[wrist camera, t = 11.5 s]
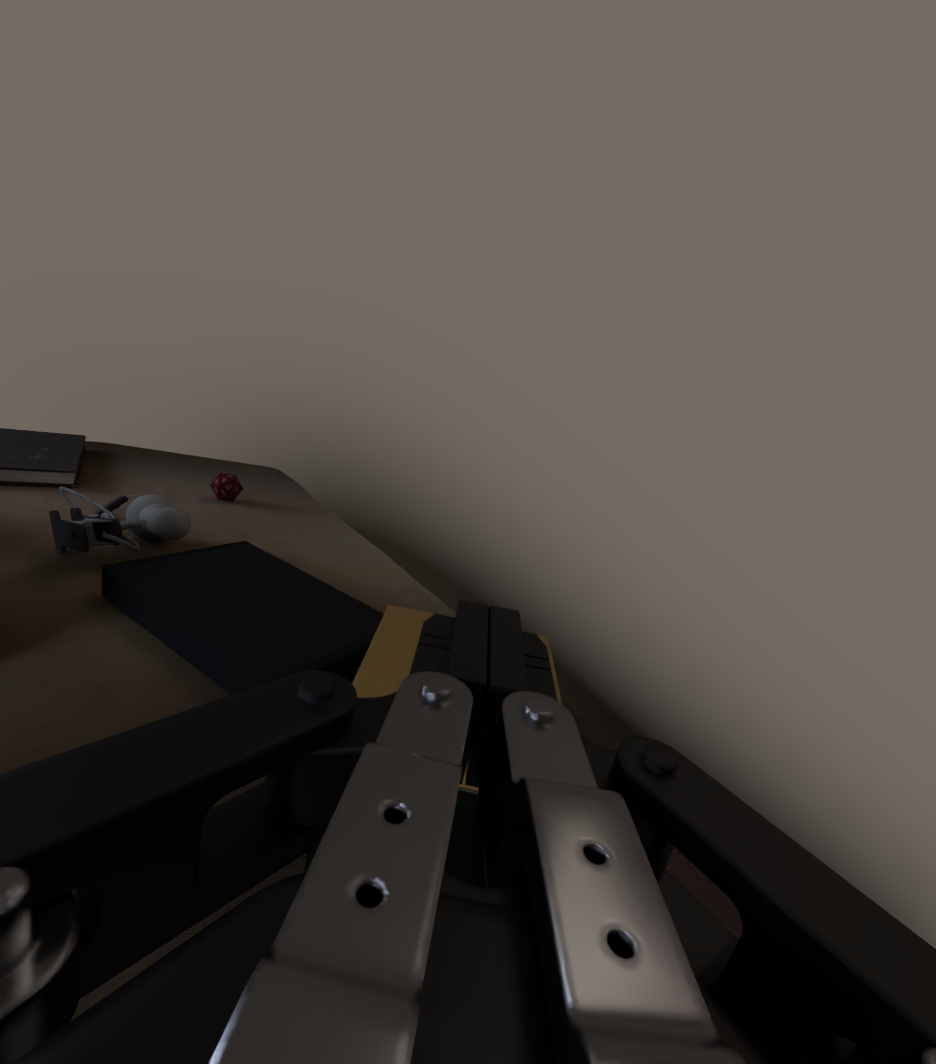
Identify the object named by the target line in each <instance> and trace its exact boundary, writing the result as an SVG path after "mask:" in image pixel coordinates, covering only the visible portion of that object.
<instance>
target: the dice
mask: <svg viewBox="0 0 936 1064" xmlns="http://www.w3.org/2000/svg"><path fill="white" fill-rule="evenodd" d="M210 486H211V488H212V489H213V491H214V493H215V495H216V497H217V498H218V499H222V500H231V501H234V499H235V498H236V497H237V496H238V495H239V493H240V492H241V491H242V490H243V488H242V486H241V484H240V482H239V480H238V479H237V477H236V475H229V474H222V473H220V474H219V475H218V477H217V478H216V479H215V480H214V481H213V483H212V484H211V485H210Z"/></svg>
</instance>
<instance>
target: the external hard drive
mask: <svg viewBox="0 0 936 1064" xmlns="http://www.w3.org/2000/svg"><path fill="white" fill-rule="evenodd" d="M102 595H103V596H104V597H105V598H106V599H108V600H109V601H110V602H112V603H113V604H114V605H116V606H117V607H118V608H119V609H121V610H122V611H123V612H125V613H126V614H127V615H129V616H130V617H131V618H132V619H134V620H135V621H136V622H138V623H139V624H140V625H142V626H143V627H144V628H146V629H147V630H148V631H149V632H151V633H152V634H153V635H155V636H156V637H157V638H159V639H160V640H161V641H162V642H164V643H165V644H166V645H168V646H169V647H170V648H172V649H173V650H174V651H175V652H177V653H178V654H179V655H181V656H182V657H183V658H185V659H186V660H187V661H188V662H190V663H191V664H192V665H194V666H195V667H196V668H198V669H199V670H200V671H202V672H203V673H204V674H205V675H207V676H208V677H209V678H211V679H212V680H213V681H215V682H216V683H217V684H218V685H220V686H221V687H222V688H224V689H225V690H226V691H228V692H229V693H230V694H231V695H233V694H236V693H239V692H242V691H245V690H248V689H251V688H253V687H256V686H259V685H262V684H265V683H268V682H271V681H274V680H277V679H280V678H283V677H286V676H288V675H291V674H294V673H298V672H302V671H310V670H321V671H328V672H332V673H335V674H338V675H340V676H342V677H344V678H346V679H347V680H349V681H350V682H351V683H353V681H354V679H355V676H356V674H357V672H358V670H359V668H360V665H361V663H362V661H363V659H364V657H365V655H366V652H367V650H368V648H369V646H370V644H371V641H372V639H373V637H374V635H375V633H376V631H377V628H378V626H379V624H380V622H381V620H382V618H383V615H384V614H383V613H381V612H379V611H377V610H375V609H373V608H371V607H370V606H368V605H366V604H364V603H362V602H360V601H358V600H356V599H354V598H353V597H351V596H349V595H347V594H345V593H343V592H341V591H339V590H337V589H336V588H334V587H332V586H330V585H328V584H326V583H324V582H322V581H320V580H319V579H317V578H315V577H313V576H311V575H309V574H307V573H305V572H303V571H301V570H300V569H298V568H296V567H294V566H292V565H290V564H288V563H286V562H284V561H283V560H281V559H279V558H277V557H275V556H273V555H271V554H269V553H267V552H266V551H264V550H262V549H260V548H258V547H256V546H254V545H252V544H250V543H249V542H247V541H241V542H236V543H230V544H224V545H218V546H213V547H207V548H201V549H195V550H190V551H184V552H178V553H172V554H167V555H161V556H155V557H149V558H144V559H138V560H132V561H126V562H121V563H115V564H109V565H104V566H103V567H102Z"/></svg>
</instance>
